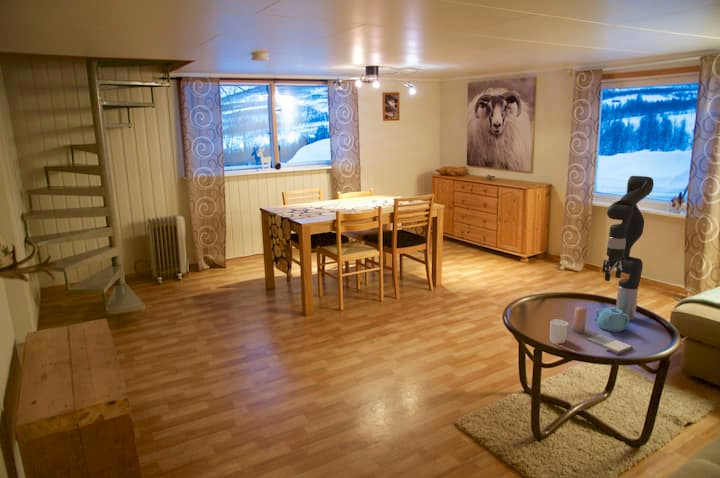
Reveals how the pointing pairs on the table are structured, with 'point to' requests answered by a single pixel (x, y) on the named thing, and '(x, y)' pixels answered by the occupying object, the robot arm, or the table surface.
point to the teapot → (612, 319)
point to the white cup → (558, 331)
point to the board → (603, 341)
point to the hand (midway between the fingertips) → (612, 279)
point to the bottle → (579, 320)
